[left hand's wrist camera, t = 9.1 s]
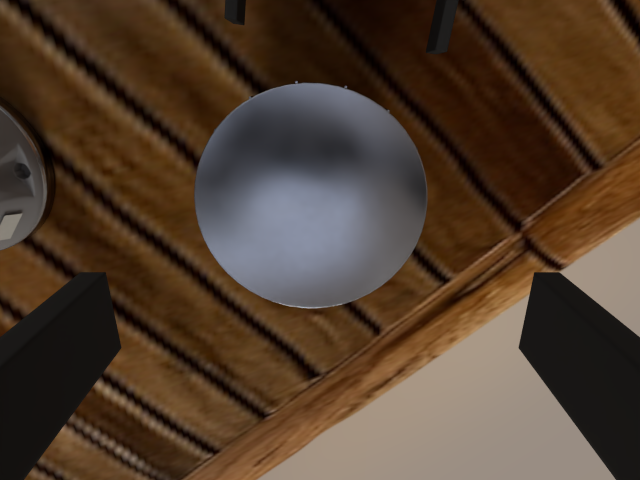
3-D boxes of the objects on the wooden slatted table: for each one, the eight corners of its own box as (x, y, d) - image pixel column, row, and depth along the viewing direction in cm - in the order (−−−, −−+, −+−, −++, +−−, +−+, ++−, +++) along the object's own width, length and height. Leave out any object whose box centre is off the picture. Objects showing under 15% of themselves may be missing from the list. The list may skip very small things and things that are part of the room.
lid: (172, 239, 22) (160, 251, 20) (258, 36, 18) (252, 32, 17) (352, 322, 24) (354, 340, 22) (462, 151, 20) (474, 158, 18)
